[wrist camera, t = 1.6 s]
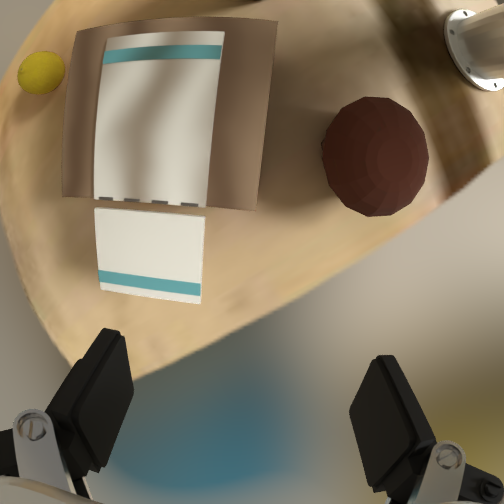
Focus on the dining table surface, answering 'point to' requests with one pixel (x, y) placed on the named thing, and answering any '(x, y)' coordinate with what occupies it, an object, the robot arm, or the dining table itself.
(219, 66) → the brown box with strip
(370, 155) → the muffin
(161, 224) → the stub
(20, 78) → the lemon
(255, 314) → the dining table surface
